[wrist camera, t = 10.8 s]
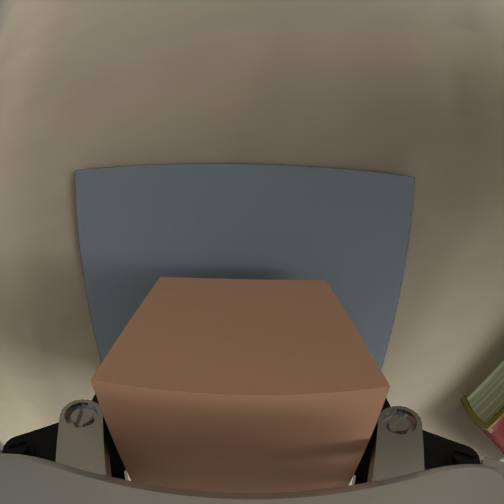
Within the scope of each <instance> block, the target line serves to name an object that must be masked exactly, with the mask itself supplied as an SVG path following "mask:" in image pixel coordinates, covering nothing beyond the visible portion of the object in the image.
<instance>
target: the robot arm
mask: <svg viewBox="0 0 504 504" xmlns="http://www.w3.org/2000/svg"><path fill="white" fill-rule="evenodd" d="M0 504H504V462H501V461H497V460H494V459H490V458H486V457H484V458H483V459H482V460H480V459H479V456H478V454H477V453H476V452H475V451H474V450H473V449H472V448H470V447H468V446H466V445H463V444H460V443H457V442H454V441H451V440H448V439H446V438H443V437H440V436H437V435H435V434H432V433H429V432H427V431H424V430H422V422H421V419H420V417H419V416H418V414H417V413H416V412H414V411H413V410H411V409H409V408H407V407H402V406H392V407H390V405H389V403H388V401H387V399H385V402H384V404H383V407H382V410H381V412H380V415H379V418H378V420H377V423H376V425H375V428H374V430H373V433H372V435H371V438H370V440H369V442H368V445H367V447H366V449H365V451H364V454H363V456H362V458H361V460H360V462H359V465H358V467H357V469H356V471H355V473H354V475H353V480H352V485H350V486H343V487H336V488H328V489H320V490H309V491H297V492H279V493H227V492H209V491H197V490H186V489H178V488H170V487H162V486H156V485H150V484H144V483H138V482H133V481H129V480H128V474H127V470H126V468H125V466H124V464H123V462H122V460H121V457H120V455H119V453H118V451H117V448H116V446H115V444H114V441H113V439H112V436H111V434H110V432H109V429H108V426H107V424H106V421H105V419H104V416H103V413H102V411H101V408H100V405H99V402H98V399H97V396H96V394H95V396H94V398H93V399H92V401H91V400H84V399H81V400H75V401H73V402H70V403H69V404H67V405H66V406H65V407H64V408H63V409H62V411H61V413H60V419H59V423H56V424H53V425H50V426H47V427H44V428H41V429H38V430H35V431H32V432H29V433H25V434H22V435H19V436H16V437H13V438H11V439H10V440H9V441H7V442H6V444H5V445H4V447H3V450H0Z"/></svg>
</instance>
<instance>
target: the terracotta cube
mask: <svg viewBox="0 0 504 504" xmlns="http://www.w3.org/2000/svg"><path fill="white" fill-rule="evenodd" d="M91 381H92V384H93V387H94V391H95V394H96V396H97V399H98V402H99V405H100V408H101V411H102V413H103V416H104V419H105V421H106V424H107V426H108V429H109V432H110V434H111V436H112V439H113V441H114V444H115V446H116V448H117V451H118V453H119V455H120V457H121V460H122V462H123V464H124V466H125V468H126V470H127V472H128V474H129V477H130V479H131V481H133V482H138V483H144V484H150V485H156V486H162V487H170V488H178V489H186V490H197V491H209V492H227V493H279V492H297V491H309V490H320V489H328V488H336V487H343V486H348V485H349V483H350V481H351V479H352V477H353V475H354V473H355V471H356V469H357V467H358V465H359V462H360V460H361V458H362V456H363V454H364V451H365V449H366V447H367V445H368V442H369V440H370V438H371V435H372V433H373V430H374V428H375V425H376V423H377V420H378V418H379V415H380V412H381V410H382V407H383V404H384V402H385V399H386V396H387V393H388V390H389V387H390V386H389V384H388V382H387V380H386V379H385V377H384V375H383V373H382V372H381V370H380V368H379V366H378V365H377V363H376V361H375V360H374V358H373V356H372V354H371V353H370V351H369V349H368V348H367V346H366V344H365V343H364V341H363V339H362V338H361V336H360V334H359V332H358V331H357V329H356V328H355V326H354V324H353V323H352V321H351V319H350V318H349V316H348V314H347V313H346V311H345V309H344V308H343V306H342V305H341V303H340V301H339V300H338V298H337V296H336V295H335V293H334V292H333V290H332V288H331V287H330V285H329V284H328V282H327V281H326V280H264V279H216V278H182V277H160V278H159V280H158V281H157V282H156V284H155V285H154V287H153V288H152V289H151V291H150V292H149V294H148V295H147V296H146V298H145V299H144V301H143V302H142V304H141V305H140V307H139V308H138V309H137V311H136V312H135V314H134V315H133V317H132V318H131V320H130V321H129V323H128V324H127V325H126V327H125V328H124V330H123V331H122V333H121V334H120V336H119V337H118V339H117V340H116V342H115V343H114V345H113V346H112V348H111V349H110V351H109V353H108V354H107V356H106V357H105V359H104V360H103V362H102V363H101V365H100V366H99V368H98V370H97V371H96V373H95V374H94V376H93V377H92V379H91Z"/></svg>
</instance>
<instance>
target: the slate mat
mask: <svg viewBox="0 0 504 504" xmlns="http://www.w3.org/2000/svg"><path fill="white" fill-rule="evenodd" d="M414 183H415V177H411V176H404V175H396V174H387V173H378V172H369V171H359V170H348V169H336V168H323V167H308V166H289V165H265V164H164V165H140V166H122V167H107V168H95V169H83V170H75V188H76V208H77V221H78V233H79V243H80V251H81V260H82V267H83V274H84V281H85V287H86V293H87V299H88V304H89V310H90V315H91V320H92V325H93V329H94V334H95V338H96V343H97V347H98V351H99V355H100V359H101V363H102V362H103V360H104V359H105V357H106V356H107V354H108V353H109V351H110V349H111V348H112V346H113V345H114V343H115V342H116V340H117V339H118V337H119V336H120V334H121V333H122V331H123V330H124V328H125V327H126V325H127V324H128V323H129V321H130V320H131V318H132V317H133V315H134V314H135V312H136V311H137V309H138V308H139V307H140V305H141V304H142V302H143V301H144V299H145V298H146V296H147V295H148V294H149V292H150V291H151V289H152V288H153V287H154V285H155V284H156V282H157V281H158V280H159V278H160V277H182V278H216V279H264V280H326V281H327V282H328V284H329V285H330V287H331V288H332V290H333V292H334V293H335V295H336V296H337V298H338V300H339V301H340V303H341V305H342V306H343V308H344V309H345V311H346V313H347V314H348V316H349V318H350V319H351V321H352V323H353V324H354V326H355V328H356V329H357V331H358V332H359V334H360V336H361V338H362V339H363V341H364V343H365V344H366V346H367V348H368V349H369V351H370V353H371V354H372V356H373V358H374V360H375V361H376V363H377V365H378V366H379V368H380V370H381V368H382V365H383V361H384V357H385V354H386V350H387V346H388V342H389V338H390V334H391V330H392V326H393V322H394V318H395V313H396V308H397V304H398V299H399V294H400V289H401V284H402V278H403V273H404V267H405V261H406V254H407V247H408V240H409V233H410V225H411V216H412V207H413V196H414Z"/></svg>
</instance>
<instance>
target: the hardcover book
mask: <svg viewBox="0 0 504 504" xmlns="http://www.w3.org/2000/svg"><path fill="white" fill-rule="evenodd" d="M461 401H462V403H463V405H464V408H465V409H466V411H467V413H468V414H469V416H470V417H471V418H472V419H473V420H474V421H475V423H476V424H477V425H478V426H479V427H480V428H481V429H482V430H483V431H484V432H485V433H486V434H487V436H488V437H489V438H490V439H491V440H492V441H493V442H494V443H495V444H496V446H497V447H498V448H499V449H500V450H501V451H502V452H503V453H504V359H503V360H502V361H501V362H500V364H499V365H498V366H497V367H496V368H495V369H494V370H493V371H492V372H491V373H490V375H489V376H488V377H487V378H486V379H485V380H484V381H483V382H482V383H481V384H480V385H479V386H478V387H477V388H476V389H475V390H474V391H473V392H472V393H471V394H470V395H469V396H468V397H466V396H464V397H463V398H462V399H461Z"/></svg>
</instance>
